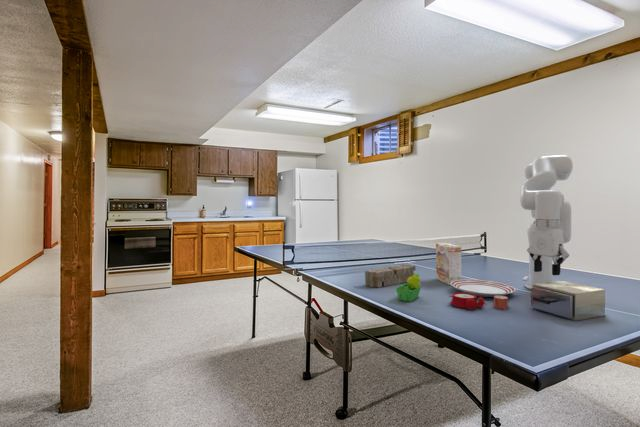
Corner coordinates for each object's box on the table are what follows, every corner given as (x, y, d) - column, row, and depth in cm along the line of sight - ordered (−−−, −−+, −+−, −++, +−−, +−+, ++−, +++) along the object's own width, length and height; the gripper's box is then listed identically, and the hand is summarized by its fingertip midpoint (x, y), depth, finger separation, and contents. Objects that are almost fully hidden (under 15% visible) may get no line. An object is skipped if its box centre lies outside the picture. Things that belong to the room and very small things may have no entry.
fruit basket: (405, 294, 164) (405, 270, 164) (424, 297, 159) (424, 272, 159) (395, 300, 155) (394, 274, 155) (415, 303, 150) (414, 276, 150)
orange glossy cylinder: (491, 306, 145) (491, 296, 145) (500, 304, 147) (500, 295, 147) (501, 309, 141) (501, 299, 140) (510, 308, 142) (510, 298, 142)
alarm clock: (460, 291, 155) (490, 290, 142) (463, 306, 154) (494, 306, 141) (442, 294, 150) (472, 294, 137) (445, 309, 149) (475, 310, 136)
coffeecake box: (435, 278, 197) (435, 243, 197) (448, 278, 198) (448, 242, 197) (448, 285, 182) (448, 246, 182) (461, 284, 183) (461, 246, 182)
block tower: (375, 290, 177) (416, 280, 193) (375, 273, 177) (416, 264, 193) (365, 287, 184) (405, 277, 200) (364, 270, 183) (405, 262, 200)
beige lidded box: (575, 320, 126) (575, 293, 126) (532, 308, 142) (532, 283, 142) (604, 315, 132) (605, 289, 132) (560, 303, 147) (560, 280, 147)
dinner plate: (505, 286, 178) (505, 279, 178) (524, 301, 151) (524, 293, 151) (446, 284, 184) (446, 278, 183) (455, 298, 157) (455, 291, 157)
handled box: (560, 320, 125) (560, 297, 124) (521, 308, 139) (521, 287, 139) (598, 313, 131) (598, 292, 131) (557, 302, 146) (557, 283, 146)
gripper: (519, 223, 139) (518, 270, 139) (563, 226, 123) (562, 278, 123) (533, 222, 142) (533, 268, 142) (578, 225, 125) (577, 276, 126)
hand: (546, 272), depth 133 cm, fingers open, 6 cm apart
